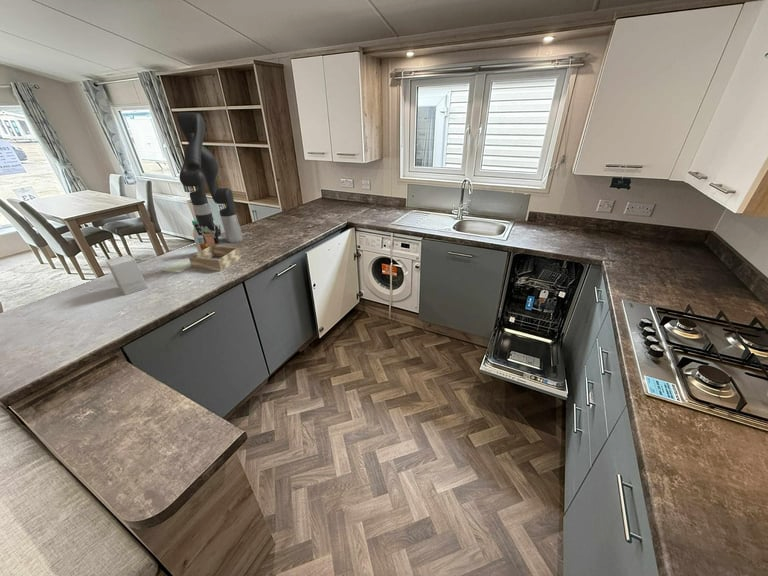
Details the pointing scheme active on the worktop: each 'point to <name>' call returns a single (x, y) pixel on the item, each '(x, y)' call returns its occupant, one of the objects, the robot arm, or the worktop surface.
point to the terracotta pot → (209, 238)
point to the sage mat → (177, 267)
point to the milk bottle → (198, 239)
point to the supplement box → (127, 274)
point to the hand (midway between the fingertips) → (212, 243)
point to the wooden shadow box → (204, 261)
